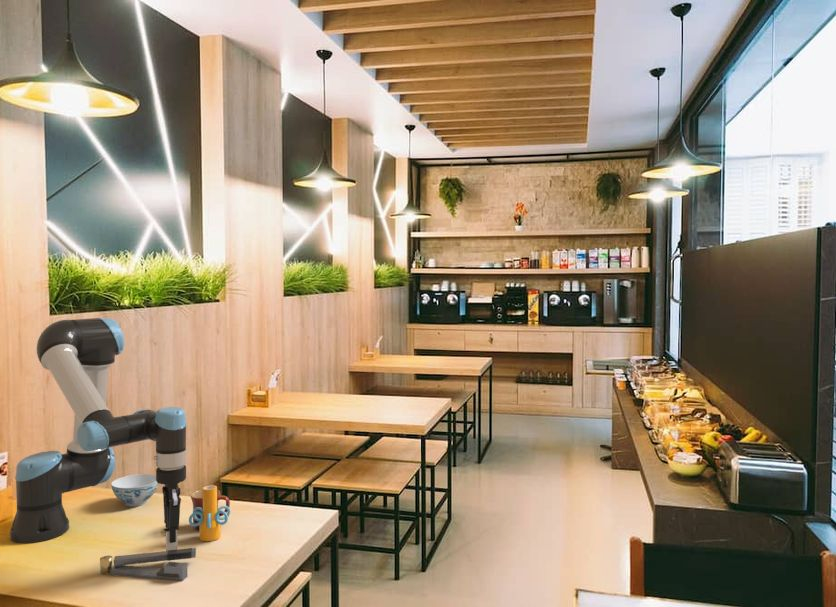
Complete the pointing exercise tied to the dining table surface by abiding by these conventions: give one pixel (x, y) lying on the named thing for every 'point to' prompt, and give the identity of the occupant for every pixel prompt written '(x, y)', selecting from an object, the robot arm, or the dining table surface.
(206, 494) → the cylinder
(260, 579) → the dining table surface
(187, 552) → the tongs arm
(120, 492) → the chinaware
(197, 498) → the mug
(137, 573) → the tongs fixed
